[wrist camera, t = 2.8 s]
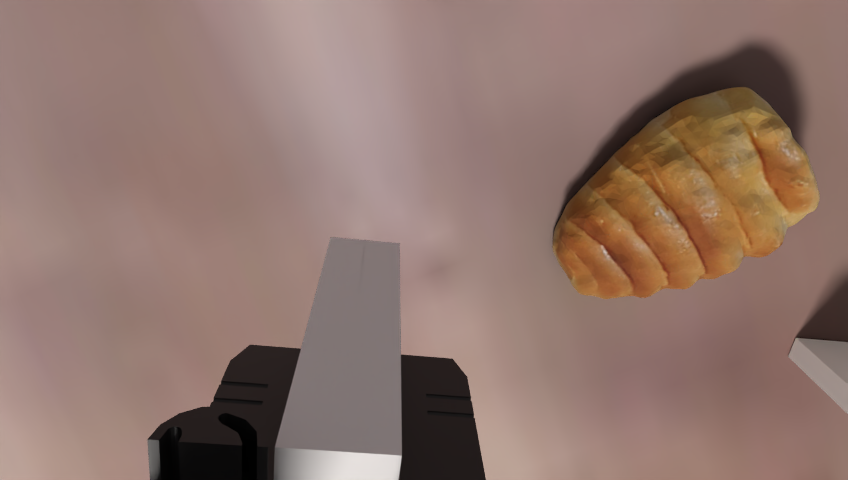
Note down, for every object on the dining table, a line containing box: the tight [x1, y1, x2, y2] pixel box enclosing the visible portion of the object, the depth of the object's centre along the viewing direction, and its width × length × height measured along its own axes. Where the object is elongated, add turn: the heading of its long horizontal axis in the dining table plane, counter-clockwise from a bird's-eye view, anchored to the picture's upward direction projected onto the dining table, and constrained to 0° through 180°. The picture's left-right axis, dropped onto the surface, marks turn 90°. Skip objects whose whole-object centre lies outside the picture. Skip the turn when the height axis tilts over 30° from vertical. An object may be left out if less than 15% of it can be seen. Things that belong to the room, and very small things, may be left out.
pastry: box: [552, 87, 820, 299], centre depth 23 cm, size 9×7×4 cm
